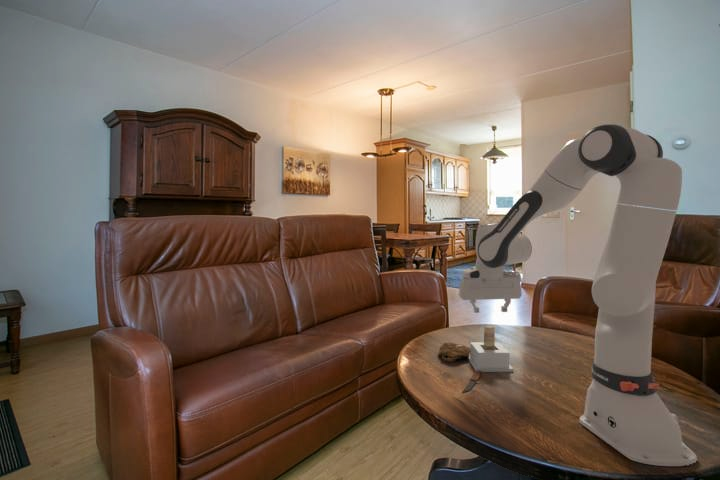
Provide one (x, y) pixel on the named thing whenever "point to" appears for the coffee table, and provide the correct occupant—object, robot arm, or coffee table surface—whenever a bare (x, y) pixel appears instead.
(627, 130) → the robot arm
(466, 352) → the decorative rock
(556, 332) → the coffee table surface
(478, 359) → the socket
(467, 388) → the knife
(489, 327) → the peg
